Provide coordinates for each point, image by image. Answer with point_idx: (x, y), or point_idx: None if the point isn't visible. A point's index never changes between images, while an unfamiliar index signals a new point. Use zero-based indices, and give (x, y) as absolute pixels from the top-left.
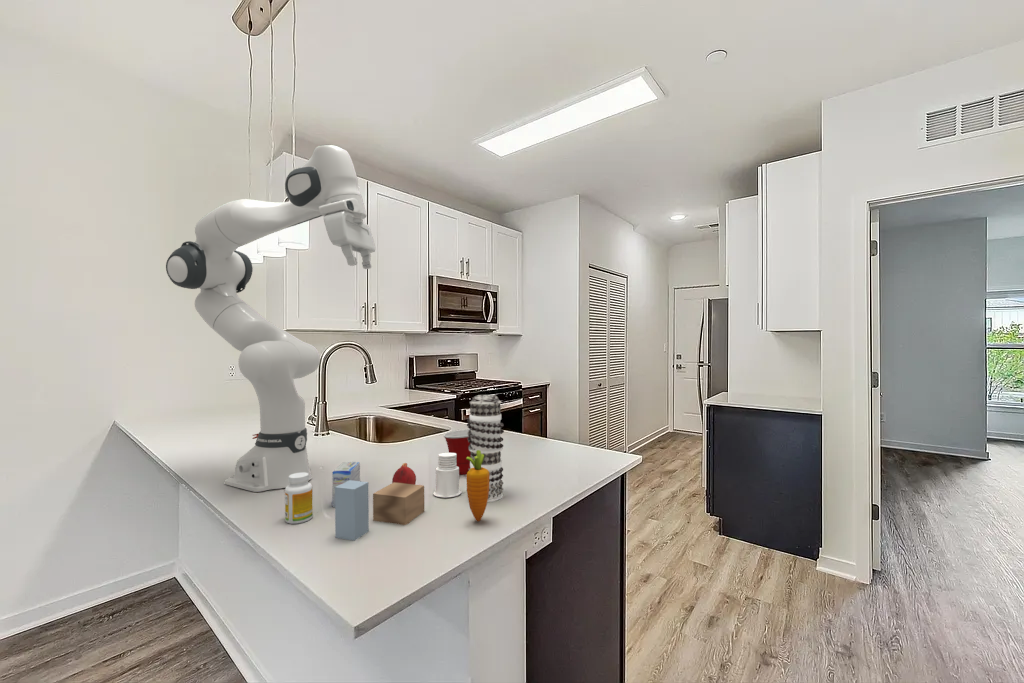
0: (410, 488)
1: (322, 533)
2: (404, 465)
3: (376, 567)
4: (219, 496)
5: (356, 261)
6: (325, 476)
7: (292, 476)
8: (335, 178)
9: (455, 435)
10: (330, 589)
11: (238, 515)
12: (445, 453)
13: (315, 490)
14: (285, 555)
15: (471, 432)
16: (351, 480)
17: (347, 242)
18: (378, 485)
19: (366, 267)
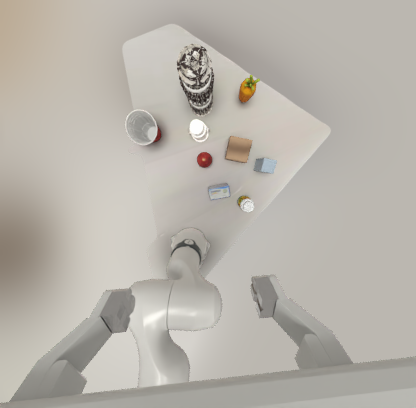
0: (236, 142)
1: (259, 181)
2: (204, 159)
3: (292, 139)
4: (217, 258)
5: (260, 283)
6: (178, 223)
7: (251, 209)
8: None
9: (134, 137)
10: (309, 150)
11: (240, 232)
12: (193, 129)
13: (203, 215)
14: (281, 185)
15: (202, 95)
16: (261, 169)
17: (405, 358)
18: (190, 183)
19: (129, 297)
